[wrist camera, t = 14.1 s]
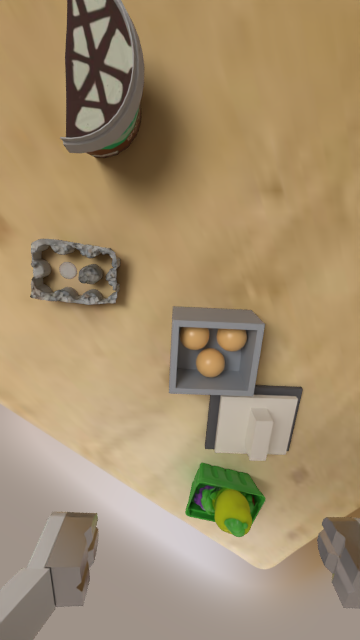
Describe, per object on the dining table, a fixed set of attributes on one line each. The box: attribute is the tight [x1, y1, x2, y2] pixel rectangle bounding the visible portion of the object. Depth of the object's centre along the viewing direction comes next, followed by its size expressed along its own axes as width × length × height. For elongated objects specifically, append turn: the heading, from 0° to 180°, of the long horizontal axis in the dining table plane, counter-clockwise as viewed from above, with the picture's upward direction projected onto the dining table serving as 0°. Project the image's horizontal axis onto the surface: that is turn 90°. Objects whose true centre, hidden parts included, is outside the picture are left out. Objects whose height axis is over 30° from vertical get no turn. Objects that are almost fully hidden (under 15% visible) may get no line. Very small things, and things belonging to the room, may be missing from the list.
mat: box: [205, 385, 303, 451], centre depth 43 cm, size 14×12×1 cm
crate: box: [169, 306, 265, 396], centre depth 36 cm, size 11×10×6 cm
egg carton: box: [30, 239, 120, 305], centre depth 34 cm, size 11×8×4 cm
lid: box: [214, 395, 298, 461], centre depth 41 cm, size 11×10×5 cm
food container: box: [60, 0, 144, 158], centre depth 25 cm, size 12×6×10 cm, turn 172°
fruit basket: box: [185, 463, 265, 537], centre depth 42 cm, size 11×9×11 cm
